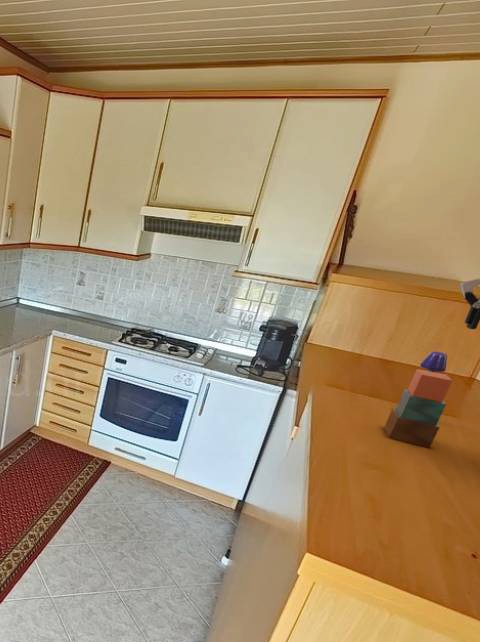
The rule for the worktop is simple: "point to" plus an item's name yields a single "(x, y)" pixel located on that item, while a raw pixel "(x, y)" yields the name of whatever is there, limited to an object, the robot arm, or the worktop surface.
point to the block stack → (414, 420)
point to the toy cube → (429, 385)
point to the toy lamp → (435, 362)
